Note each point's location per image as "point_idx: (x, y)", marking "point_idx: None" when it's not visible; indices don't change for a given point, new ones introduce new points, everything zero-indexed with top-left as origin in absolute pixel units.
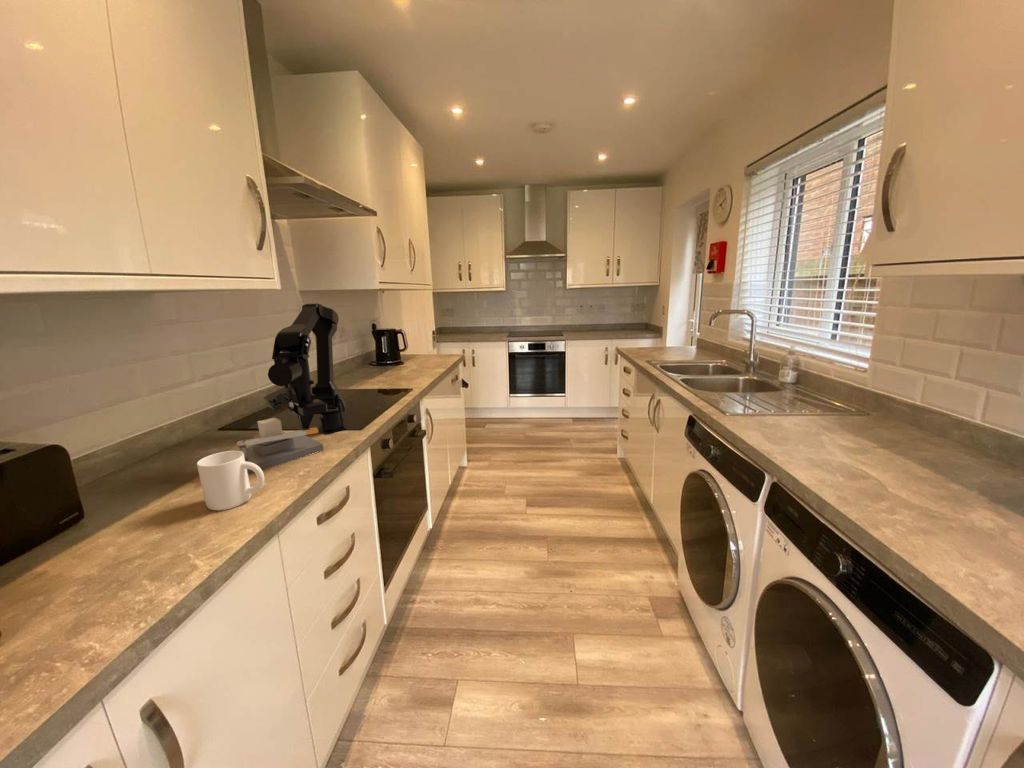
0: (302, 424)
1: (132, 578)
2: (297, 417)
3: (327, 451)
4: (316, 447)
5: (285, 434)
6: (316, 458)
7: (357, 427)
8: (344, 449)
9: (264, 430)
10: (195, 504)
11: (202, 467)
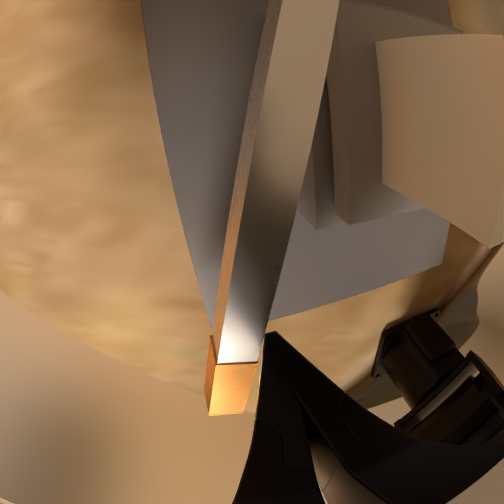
0: (260, 395)
1: None
2: (350, 427)
3: (186, 319)
4: (204, 301)
5: (245, 197)
6: (119, 268)
7: (354, 395)
8: (164, 367)
9: (442, 38)
10: None
11: None
